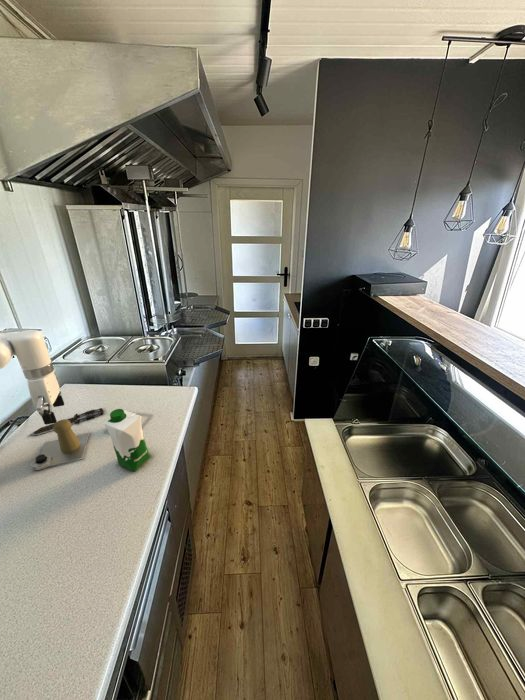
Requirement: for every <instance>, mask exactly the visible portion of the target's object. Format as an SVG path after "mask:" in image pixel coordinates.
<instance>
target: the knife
mask: <svg viewBox="0 0 525 700" xmlns="http://www.w3.org/2000/svg"><path fill="white" fill-rule="evenodd" d="M95 412H97V413H95ZM94 413H95V414H94ZM84 415H86V416H84ZM98 415H100V416H103V415H105V414H104V409H103V408H102V407H100V408H97V409H90V410H87V411H85V412H82V413H80V414H78V413H75V414H74V415H73V417H71V418H66V419H67V420H69V421H70V422H71V425H73V424H75V425H76V424H77V425H79V424H80V423H81V421H84V420H86V421H91V420H93V419H95V418H96V416H98ZM81 416H84V417H82V418H81ZM54 424H55V423H52V424H47V425H45V426H42V427H40V428H38V429H36V430H35V431H33V432H32V433H30V434H29V436H39V435H42V434H46V433H49V432H52V431H54V430H53V426H54Z"/></svg>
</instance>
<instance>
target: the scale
mask: <svg viewBox="0 0 525 700" xmlns="http://www.w3.org/2000/svg"><path fill="white" fill-rule="evenodd" d="M76 437H77V438H78V440H79V442H80V445H79V447H78V448H77V449H75V450H74V451H72V452H68V453H63V452H61V450H60V445H59V440H58V439H56V440H51V441H46V442H45V444H44V446H43V448H42V451H41V453H40V455H41V454H44V455H45V457H46V460H45V461H44V462H42V463H39V464H38V463H37V462H36V460H35V458H34V459H32V460H31V463H30V465H31V468H32V469H33V470H34V471H40V470H43V469H47V468H52V467H57V466H61V465H65V464H69V463H73V462H77V461H82V460H83V459H84V456H85V452H86V449H87V445H88V441H89V437H90V433H89V432H88V433H83V434H79V435H76Z"/></svg>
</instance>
